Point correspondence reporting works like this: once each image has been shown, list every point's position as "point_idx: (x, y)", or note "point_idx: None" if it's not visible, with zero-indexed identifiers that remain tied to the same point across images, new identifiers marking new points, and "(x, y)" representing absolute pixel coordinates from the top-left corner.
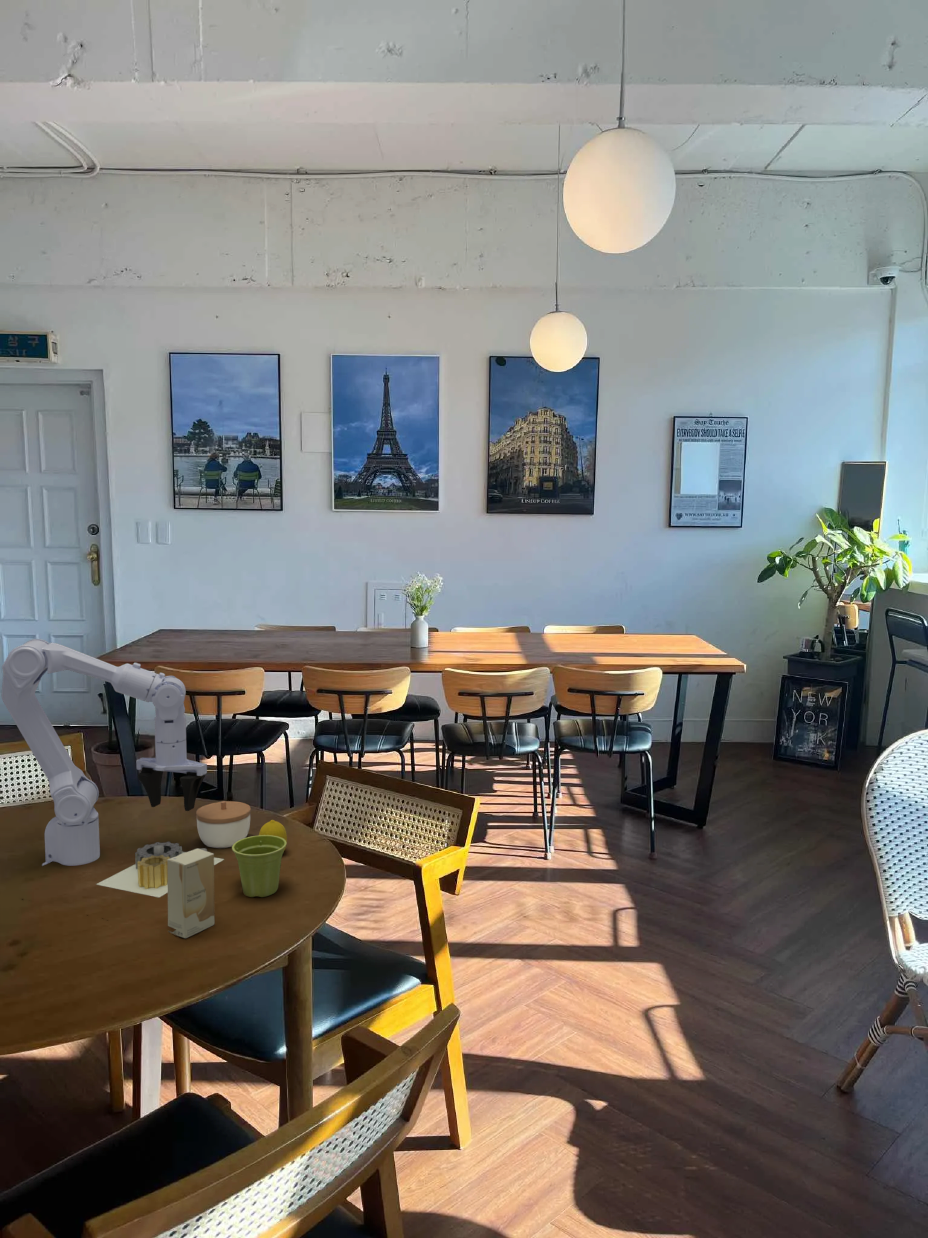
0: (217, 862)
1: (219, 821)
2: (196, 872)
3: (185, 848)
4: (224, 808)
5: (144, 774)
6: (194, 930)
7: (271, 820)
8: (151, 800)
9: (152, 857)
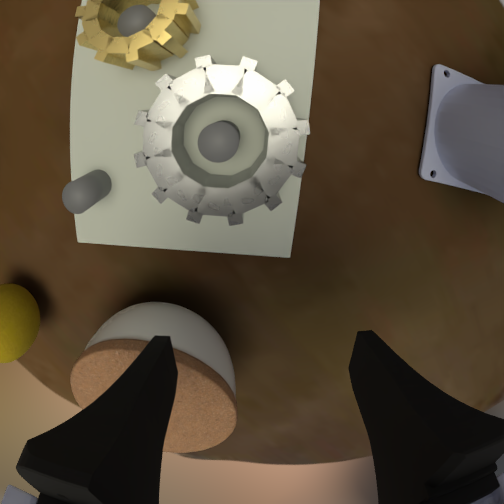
0: (76, 216)
1: (97, 347)
2: None
3: (259, 300)
4: None
5: (474, 462)
6: None
7: None
8: (378, 349)
9: (153, 26)
